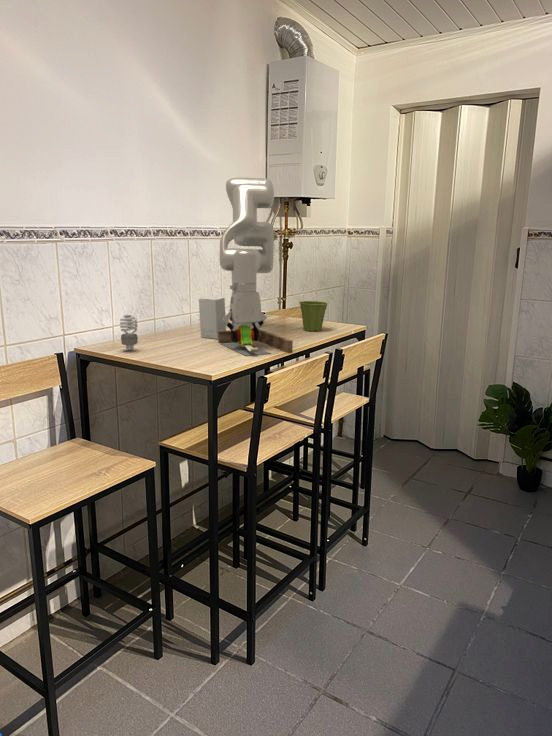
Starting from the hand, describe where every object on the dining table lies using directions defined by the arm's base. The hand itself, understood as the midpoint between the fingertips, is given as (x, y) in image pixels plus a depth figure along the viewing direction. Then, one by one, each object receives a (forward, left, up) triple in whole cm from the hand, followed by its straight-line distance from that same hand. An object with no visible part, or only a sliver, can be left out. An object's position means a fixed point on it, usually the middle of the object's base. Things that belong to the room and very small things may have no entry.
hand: (244, 340), depth 195 cm
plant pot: (-23, +41, -3) cm, 47 cm away
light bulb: (-12, -36, -3) cm, 38 cm away
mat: (0, 0, -3) cm, 3 cm away
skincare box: (-24, -2, -3) cm, 24 cm away
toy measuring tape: (+3, -1, -2) cm, 3 cm away
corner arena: (-1, +4, -3) cm, 5 cm away
